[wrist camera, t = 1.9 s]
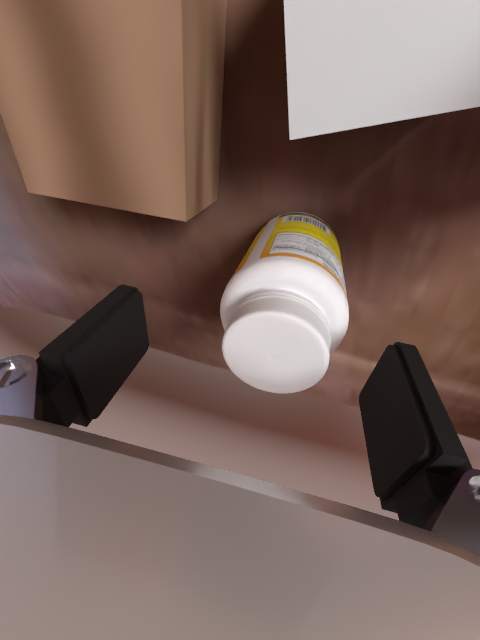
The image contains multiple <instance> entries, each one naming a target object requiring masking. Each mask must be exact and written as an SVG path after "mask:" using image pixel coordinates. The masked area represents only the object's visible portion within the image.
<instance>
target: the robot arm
mask: <svg viewBox="0 0 480 640" xmlns="http://www.w3.org/2000/svg"><path fill="white" fill-rule="evenodd" d="M148 346H149V341H148V333H147V326H146V319H145V312H144V305H143V298H142V294H141V292H139V291H138V289H137V288H136V287H131V286H126V285H120V286H118V287H117V288H116V289H115V290H114V291H112V292H111V293H110V294H109V295H107V296H106V297H105V298H104V299H103V300H101V301H100V302H99V303H98V304H97V305H95V306H94V307H93V308H92V309H91V310H89V311H88V312H87V313H86V314H85V315H83V316H82V317H81V318H80V319H79V320H77V321H76V322H75V323H74V324H73V325H71V326H70V327H69V328H68V329H66V330H65V331H64V332H63V333H62V334H60V335H59V336H58V337H57V338H56V339H54V340H53V341H52V342H51V343H50V344H48V345H47V346H46V347H45V348H44V349H43V350H41V351H40V352H39V354H40V357H39V358H38V359H36V360H35V359H34V358H32V357H29V356H22V355H18V356H11V357H7V358H4V359H1V360H0V640H480V470H477V469H473V468H472V466H471V464H470V462H469V459H468V457H467V455H466V452H465V450H464V448H463V446H462V444H461V442H460V440H459V437H458V435H457V433H456V431H455V429H454V427H453V425H452V422H451V420H450V418H449V416H448V414H447V412H446V410H445V407H444V405H443V403H442V401H441V399H440V397H439V395H438V392H437V390H436V388H435V386H434V384H433V382H432V380H431V377H430V375H429V373H428V371H427V369H426V367H425V365H424V362H423V360H422V358H421V356H420V354H419V352H418V350H417V348H416V346H414V345H410V344H405V343H400V342H395V343H394V344H393V345H388V346H387V348H386V349H385V351H384V353H383V355H382V356H381V358H380V360H379V361H378V363H377V365H376V367H375V368H374V370H373V372H372V374H371V375H370V377H369V379H368V380H367V382H366V384H365V386H364V387H363V389H362V391H361V393H360V396H359V404H360V410H361V416H362V422H363V428H364V434H365V439H366V446H367V452H368V458H369V464H370V470H371V476H372V482H373V487H374V492H375V495H376V496H377V497H380V501H381V507H382V509H384V510H388V511H391V512H395V513H398V517H399V521H398V520H395V519H392V518H388V517H384V516H382V515H378V514H375V513H372V512H369V511H365V510H362V509H359V508H355V507H352V506H349V505H345V504H342V503H339V502H335V501H331V500H328V499H325V498H321V497H317V496H314V495H311V494H307V493H303V492H300V491H296V490H293V489H289V488H286V487H282V486H279V485H275V484H272V483H268V482H265V481H261V480H258V479H254V478H251V477H247V476H244V475H240V474H236V473H233V472H229V471H226V470H222V469H219V468H215V467H212V466H207V465H204V464H201V463H197V462H193V461H190V460H186V459H182V458H179V457H176V456H172V455H169V454H165V453H161V452H158V451H154V450H150V449H147V448H143V447H139V446H135V445H132V444H128V443H125V442H121V441H117V440H114V439H110V438H107V437H102V436H99V435H96V434H92V433H88V432H84V431H80V430H76V429H72V428H69V426H70V425H71V424H72V422H73V423H75V424H78V425H82V426H85V427H87V426H88V425H89V423H90V422H91V421H92V419H96V418H98V417H99V415H100V414H101V413H102V411H103V410H104V409H105V407H106V406H107V405H108V403H109V402H110V400H111V399H112V398H113V396H114V395H115V394H116V392H117V391H118V390H119V388H120V387H121V386H122V384H123V383H124V381H125V380H126V379H127V377H128V376H129V375H130V373H131V372H132V371H133V369H134V368H135V367H136V365H137V363H138V362H139V361H140V360H141V358H142V357H143V356H144V354H145V353H146V351H147V350H148Z"/></svg>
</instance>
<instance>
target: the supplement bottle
mask: <svg viewBox="0 0 480 640" xmlns="http://www.w3.org/2000/svg"><path fill="white" fill-rule="evenodd" d="M220 317H221V321H222V325H223V328H224V330H225V333H224V336H223V339H222V353H223V356H224V359H225V361H226V363H227V365H228V366H229V368H230V369H231V371H232V372H233V373H234V374H235V375H236V376H237V377H239V378H240V379H241V380H242V381H244V382H245V383H247V384H249V385H251V386H253V387H255V388H257V389H260V390H264V391H268V392H273V393H294V392H299V391H302V390H305V389H307V388H309V387H311V386H313V385H315V384H316V383H317V382H318V381H319V380H320V379H321V378H322V377H323V376H324V374H325V372H326V370H327V368H328V364H329V357H330V354H331V353H332V352H333V351H334V350H335V349H336V348H337V347H338V346H339V345H340V343H341V341H342V340H343V338H344V336H345V334H346V331H347V327H348V322H349V307H348V300H347V295H346V288H345V281H344V275H343V268H342V262H341V255H340V247H339V243H338V240H337V237H336V235H335V233H334V232H333V230H332V229H331V228H330V226H329V225H328V224H327V223H326V222H324V221H323V220H322V219H320V218H318V217H317V216H314V215H312V214H308V213H304V212H291V213H286V214H282V215H279V216H277V217H275V218H273V219H272V220H270V221H269V222H268V223H267V224H265V225H264V226H263V228H262V229H261V230H260V231H259V233H258V234H257V236H256V238H255V239H254V241H253V243H252V244H251V246H250V248H249V249H248V251H247V253H246V254H245V256H244V258H243V259H242V261H241V263H240V264H239V266H238V268H237V269H236V271H235V273H234V274H233V276H232V278H231V279H230V281H229V282H228V284H227V286H226V288H225V290H224V293H223V296H222V299H221V304H220Z"/></svg>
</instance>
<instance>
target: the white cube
mask: <svg viewBox="0 0 480 640" xmlns="http://www.w3.org/2000/svg"><path fill="white" fill-rule="evenodd" d="M284 20H285V43H286V66H287V89H288V112H289V136H290V140H293V139H299V138H305V137H310V136H316V135H322V134H327V133H333V132H339V131H344V130H350V129H356V128H361V127H367V126H373V125H378V124H384V123H390V122H395V121H401V120H407V119H412V118H418V117H424V116H429V115H435V114H441V113H446V112H452V111H458V110H463V109H469V108H475V107H480V0H284Z"/></svg>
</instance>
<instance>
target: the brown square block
mask: <svg viewBox="0 0 480 640" xmlns="http://www.w3.org/2000/svg"><path fill="white" fill-rule="evenodd" d="M226 15H227V0H0V113H1V116H2V119H3V121H4V124H5V127H6V130H7V133H8V136H9V139H10V141H11V144H12V147H13V150H14V153H15V156H16V159H17V162H18V164H19V167H20V170H21V173H22V176H23V179H24V182H25V185H26V187H27V190H28V192H29V193H35V194H40V195H45V196H51V197H56V198H61V199H67V200H72V201H78V202H83V203H88V204H94V205H99V206H104V207H110V208H115V209H120V210H126V211H131V212H136V213H142V214H147V215H153V216H158V217H163V218H169V219H174V220H179V221H185V222H187V221H188V220H189V219H191V218H192V217H194V216H195V215H197V214H198V213H199V212H201V211H202V210H204V209H205V208H207V207H208V206H210V205H211V204H212V203H214V202H215V201H217V200H218V188H219V167H220V145H221V123H222V102H223V80H224V59H225V37H226Z"/></svg>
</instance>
